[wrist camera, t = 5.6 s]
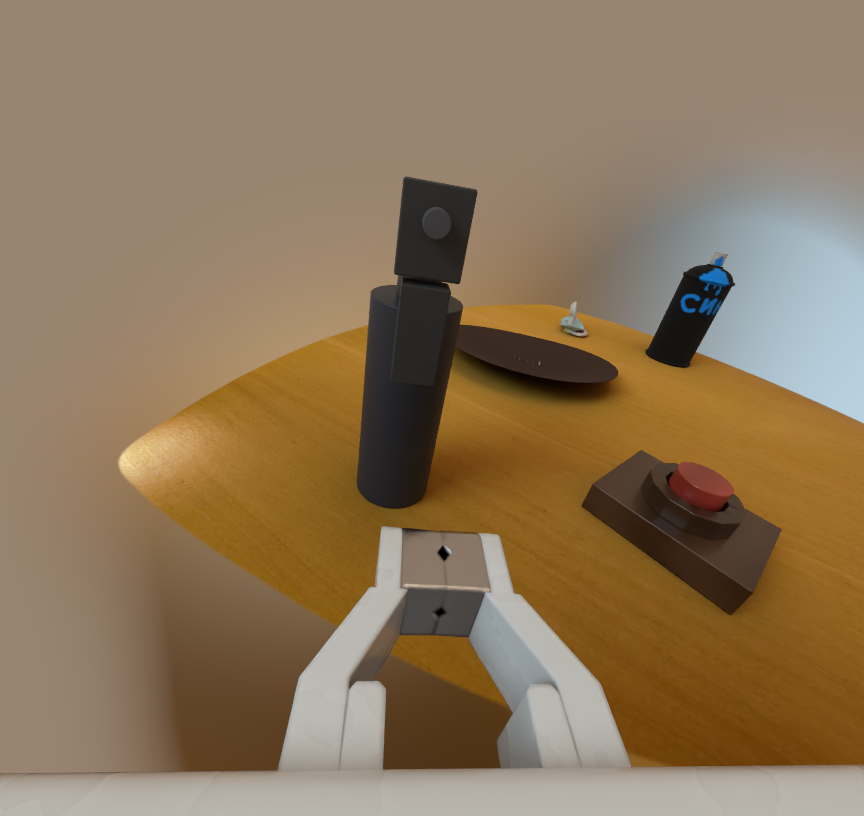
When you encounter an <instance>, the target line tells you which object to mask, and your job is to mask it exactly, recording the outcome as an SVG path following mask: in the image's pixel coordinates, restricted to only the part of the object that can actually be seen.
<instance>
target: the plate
mask: <svg viewBox="0 0 864 816" xmlns="http://www.w3.org/2000/svg"><path fill="white" fill-rule="evenodd" d="M455 346H456V347H457V348H459V349H460V350H462V351H464V352H466V353H468V354H470V355H472V356H474V357H477V358H479V359H482V360H484V361H487V362H489V363H492V364H494V365H497V366H500V367H503V368H506V369H509V370H512V371H515V372H518V373H522V374H527V375H532V376H537V377H542V378H548V379H553V380H561V381H569V382H584V383H594V382H605V381H609V380H612V379H614V378H615V377H617V376H618V370H617V369H616V367H615V366H613V365H612V364H611V363H609V362H608V361H606V360H604V359H602V358H600V357H598V356H596V355H593V354H591V353H588V352H586V351H583V350H580V349H577V348H574V347H570V346H567V345H564V344H560V343H556V342H552V341H549V340H544V339H540V338H536V337H532V336H527V335H523V334H518V333H513V332H508V331H503V330H498V329H493V328H487V327H480V326H472V325H459V330H458V335H457V340H456V345H455Z"/></svg>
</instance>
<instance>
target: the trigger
mask: <svg viewBox="0 0 864 816" xmlns="http://www.w3.org/2000/svg"><path fill="white" fill-rule="evenodd" d="M450 295H451V291H450V288H449V286H448V284H446V283H439V282H433V281H426V280H419V279H413V278H406V277H402V280H401V289H400V298H399V307H398V316H397V324H396V333H395V342H394V351H393V360H392V369H391V381H392V382H400V383H409V384H418V385H426V386H434V384H435V378H436V373H437V367H438V362H439V356H440V351H441V345H442V340H443V334H444V329H445V323H446V318H447V312H448V307H449V301H450Z"/></svg>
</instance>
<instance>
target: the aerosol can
mask: <svg viewBox="0 0 864 816" xmlns="http://www.w3.org/2000/svg"><path fill="white" fill-rule="evenodd" d="M727 256H728V254H725V253H719V252H715V253H714V255H713V257H712V259H711V261H710V264H707V265H700V266H696V267H693V268H691V269H689V270H688V271H687V272H684V273H683V275H684V276H683V278H682V280H681V282H680V284H679V286H678V288H677V290H676V292H675V295H674V297H673V299H672V301H671V303H670V305H669V307H668V309H667V311H666V313H665V315H664V317H663V320H662V321H661V323H660V326H659V328H658V330H657V332H656V334H655V336H654V338H653V340H652V342H651V344H650V346H649V348H648V349H647V350H646V354H647V355H648V356H649V357H651V358H653V359H655V360H657V361H659V362H662V363H665V364H668V365H672V366H676V367H688V366H690V361H691V359H692V357H693V355H694V354H695V352H696V350H697V348H698V346H699V345H700V343H701V341H702V339H703V337H704V336H705V334H706V332H707V330H708V328H709V327H710V325H711V323H712V321H713V319H714V318H715V316H716V314H717V312H718V310H719V309H720V307H721V305H722V303H723V302H724V300H725V298H726V296H727V294H728V293H729V291H730V289H731V287H732V286H734V285H735V283H733V278H732V276H731V274H730V273H729V272H727V271H726V270H724V269H723V267H720V266H722V265H723V263H724V261H725V259H726V258H727ZM711 264H713V265H711Z"/></svg>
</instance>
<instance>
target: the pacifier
mask: <svg viewBox="0 0 864 816" xmlns="http://www.w3.org/2000/svg"><path fill="white" fill-rule="evenodd" d="M570 315H571V316H567V317H564V318H563V319H562V321H561V324H560V326H561V327H564V331H565V332H567V333H571V334H573V335H576V336H581V337H582V336H586V335H587V334H588V332H587V331H586V330H585V329H584V326H583V324H582V322H581V321H580V320H578V319H577V318H576V315H577V302H574V303H573V304H572V305H571V307H570ZM566 321H567V322H568V323H566ZM576 330H580V331H582V332H583V333H577V332H576Z"/></svg>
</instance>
